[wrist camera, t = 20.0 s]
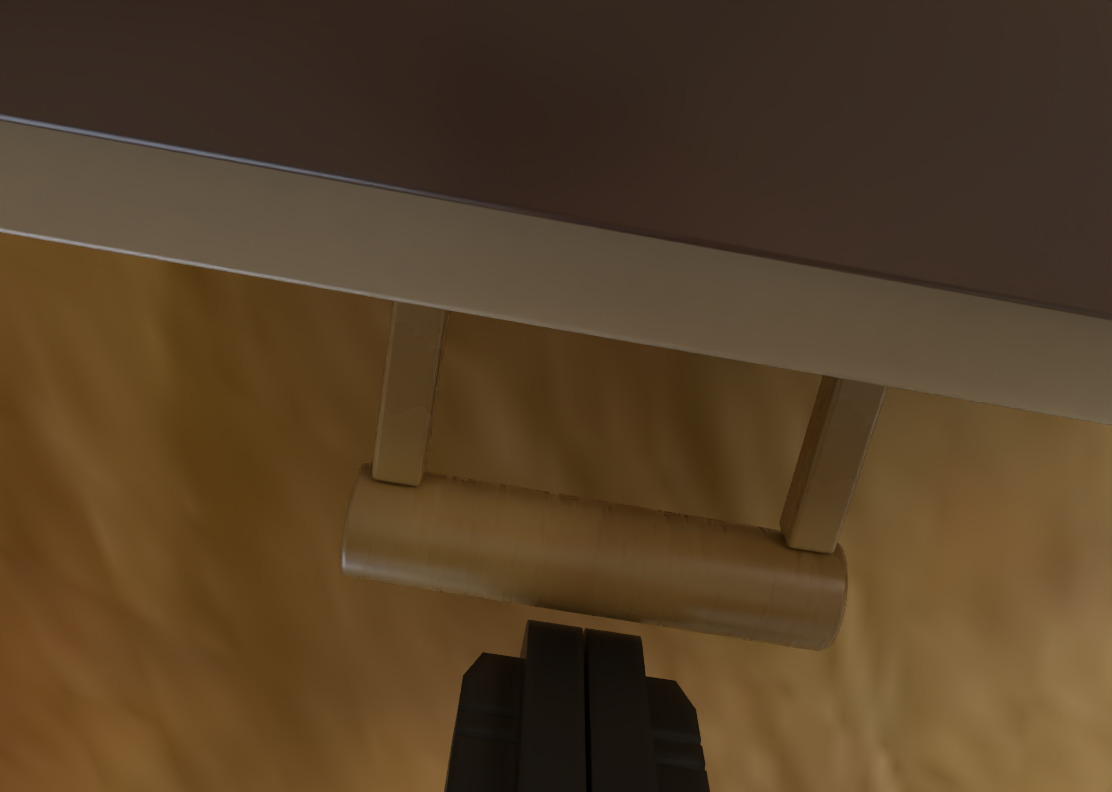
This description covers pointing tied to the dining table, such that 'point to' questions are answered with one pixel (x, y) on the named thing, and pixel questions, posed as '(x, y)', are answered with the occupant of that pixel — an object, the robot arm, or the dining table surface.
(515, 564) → the drawer
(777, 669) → the dining table surface
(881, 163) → the cabinet
